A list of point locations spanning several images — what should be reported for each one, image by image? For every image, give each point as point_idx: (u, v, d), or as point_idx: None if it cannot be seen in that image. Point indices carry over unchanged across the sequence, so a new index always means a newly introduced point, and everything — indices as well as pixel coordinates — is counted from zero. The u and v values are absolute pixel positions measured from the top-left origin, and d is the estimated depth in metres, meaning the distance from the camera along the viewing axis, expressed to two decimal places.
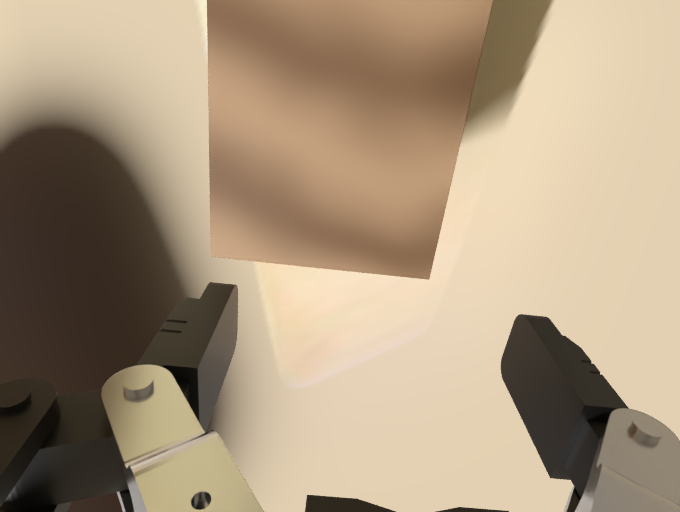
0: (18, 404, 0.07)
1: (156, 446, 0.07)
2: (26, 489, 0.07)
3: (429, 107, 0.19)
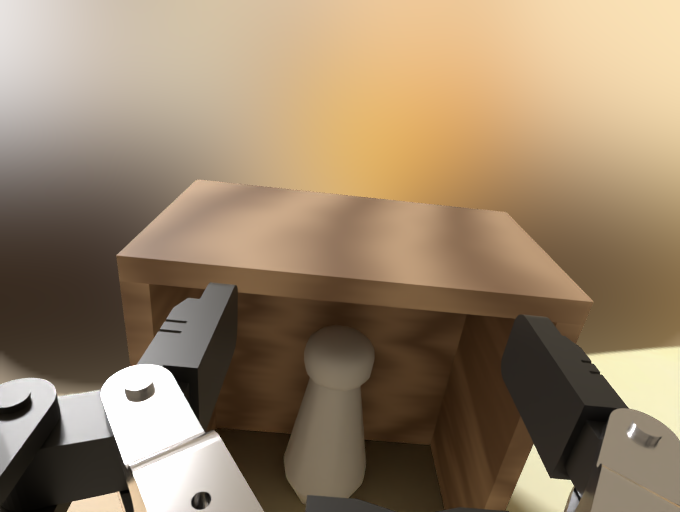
0: (18, 404, 0.07)
1: (156, 446, 0.07)
2: (26, 489, 0.07)
3: (319, 257, 0.20)
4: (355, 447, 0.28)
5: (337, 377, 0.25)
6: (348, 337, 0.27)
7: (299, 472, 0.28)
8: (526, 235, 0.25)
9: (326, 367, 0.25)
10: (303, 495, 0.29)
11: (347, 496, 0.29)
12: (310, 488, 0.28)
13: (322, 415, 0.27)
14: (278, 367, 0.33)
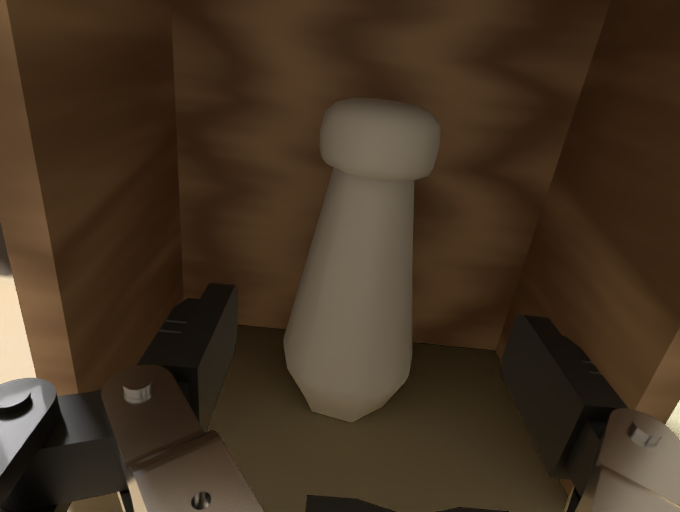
0: (18, 404, 0.07)
1: (156, 446, 0.07)
2: (26, 489, 0.07)
3: None
4: (402, 307, 0.17)
5: (382, 145, 0.14)
6: (396, 102, 0.16)
7: (308, 349, 0.17)
8: None
9: (361, 127, 0.14)
10: (315, 390, 0.18)
11: (386, 392, 0.18)
12: (326, 375, 0.17)
13: (350, 239, 0.16)
14: (276, 214, 0.22)
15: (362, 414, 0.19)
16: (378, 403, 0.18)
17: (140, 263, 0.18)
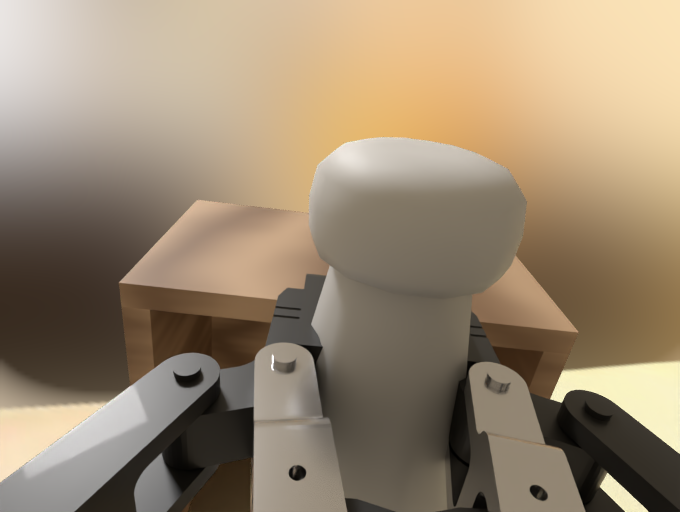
0: (193, 374, 0.08)
1: (281, 414, 0.08)
2: (180, 450, 0.08)
3: None
4: (445, 477, 0.10)
5: (428, 242, 0.07)
6: (443, 149, 0.09)
7: None
8: (517, 260, 0.26)
9: (387, 208, 0.07)
10: None
11: None
12: None
13: (362, 385, 0.09)
14: None
15: None
16: None
17: None
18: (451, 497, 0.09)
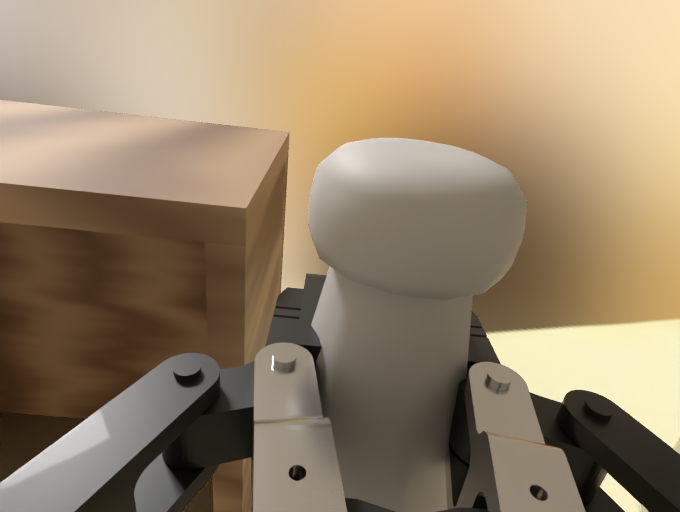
0: (193, 374, 0.08)
1: (281, 414, 0.08)
2: (180, 450, 0.08)
3: None
4: None
5: (428, 243, 0.07)
6: (443, 149, 0.09)
7: None
8: (275, 149, 0.19)
9: (388, 209, 0.07)
10: None
11: None
12: None
13: (362, 386, 0.09)
14: (42, 336, 0.27)
15: None
16: None
17: None
18: (451, 497, 0.09)
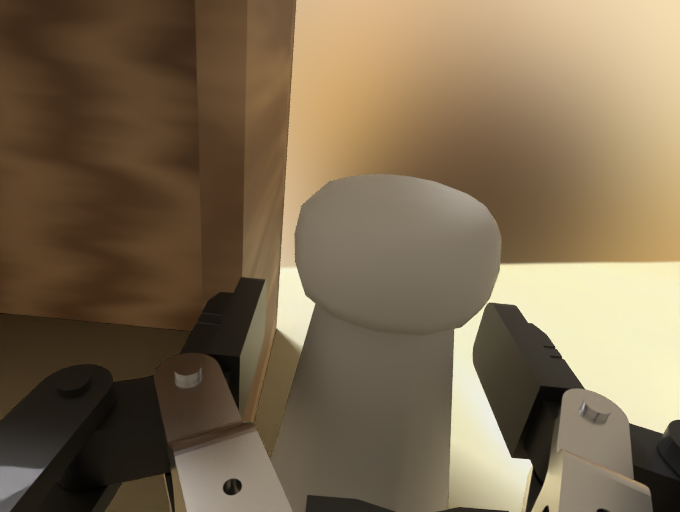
0: (79, 388, 0.08)
1: (197, 430, 0.07)
2: (79, 470, 0.08)
3: None
4: (435, 500, 0.11)
5: (406, 284, 0.07)
6: (422, 187, 0.09)
7: None
8: None
9: (366, 253, 0.07)
10: None
11: None
12: None
13: (350, 416, 0.09)
14: (7, 206, 0.23)
15: None
16: None
17: None
18: None
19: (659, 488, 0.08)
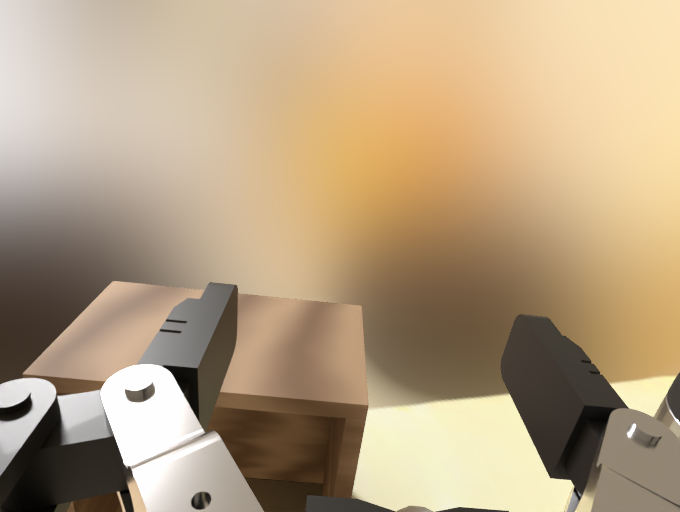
0: (18, 404, 0.07)
1: (156, 446, 0.07)
2: (26, 489, 0.07)
3: None
4: None
5: None
6: None
7: None
8: (361, 333, 0.32)
9: None
10: None
11: None
12: None
13: None
14: None
15: None
16: None
17: None
18: None
19: None
